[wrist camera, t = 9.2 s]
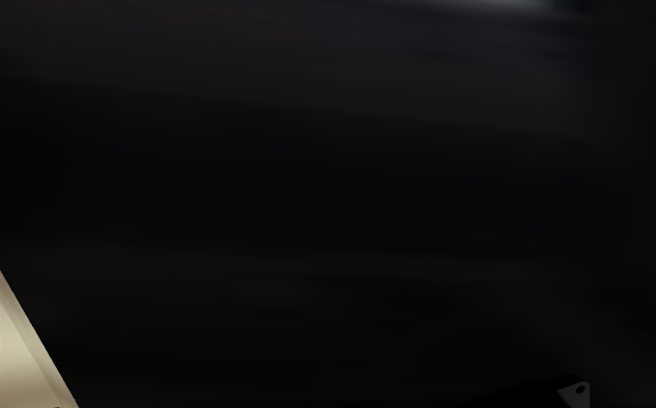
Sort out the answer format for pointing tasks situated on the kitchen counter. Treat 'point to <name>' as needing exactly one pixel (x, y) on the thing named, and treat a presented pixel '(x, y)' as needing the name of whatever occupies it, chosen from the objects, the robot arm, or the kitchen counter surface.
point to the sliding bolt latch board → (26, 362)
